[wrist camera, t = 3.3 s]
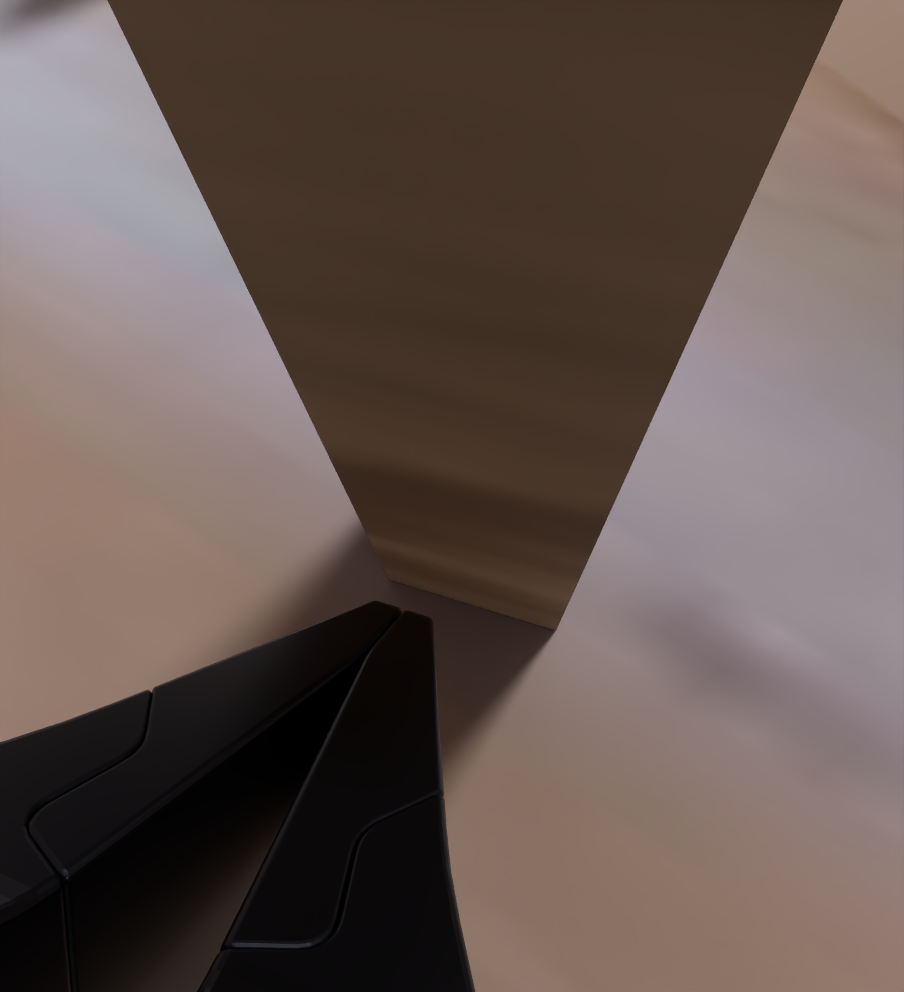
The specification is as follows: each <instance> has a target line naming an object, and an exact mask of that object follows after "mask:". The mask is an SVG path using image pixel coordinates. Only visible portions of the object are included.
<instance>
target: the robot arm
mask: <svg viewBox="0 0 904 992" xmlns="http://www.w3.org/2000/svg"><path fill="white" fill-rule="evenodd" d="M443 796H444V789H443V773H442V757H441V741H440V725H439V709H438V694H437V678H436V662H435V646H434V630H433V621H432V619H431V618H430V617H427V616H424V615H421V614H418V613H414V612H411V611H403V612H402V610H401V609H400V608H398V607H395V606H392V605H389V604H385V603H382V602H379V601H372V602H369V603H366V604H364V605H361V606H358V607H356V608H353V609H351V610H348V611H346V612H343V613H341V614H338V615H336V616H333V617H331V618H328V619H326V620H323V621H321V622H318V623H316V624H313V625H310V626H308V627H305V628H303V629H300V630H298V631H295V632H293V633H290V634H288V635H285V636H283V637H280V638H278V639H275V640H273V641H270V642H267V643H265V644H262V645H260V646H257V647H255V648H252V649H250V650H247V651H245V652H242V653H240V654H237V655H235V656H232V657H230V658H227V659H225V660H222V661H219V662H217V663H214V664H212V665H209V666H207V667H204V668H202V669H199V670H197V671H194V672H192V673H189V674H187V675H184V676H182V677H179V678H176V679H174V680H171V681H169V682H166V683H164V684H161V685H159V686H156V687H154V688H153V691H152V693H151V691H149V690H146V691H143V692H140V693H138V694H135V695H133V696H130V697H128V698H125V699H123V700H120V701H118V702H115V703H112V704H110V705H107V706H104V707H102V708H99V709H96V710H94V711H91V712H88V713H86V714H83V715H80V716H77V717H75V718H72V719H69V720H67V721H64V722H61V723H58V724H55V725H52V726H49V727H46V728H43V729H40V730H37V731H34V732H31V733H28V734H25V735H22V736H18V737H15V738H12V739H9V740H6V741H3V742H0V992H475V988H474V984H473V979H472V975H471V970H470V965H469V961H468V956H467V951H466V947H465V942H464V938H463V933H462V928H461V924H460V919H459V913H458V907H457V902H456V896H455V890H454V885H453V879H452V874H451V867H450V857H449V848H448V838H447V828H446V814H445V800H444V798H443Z"/></svg>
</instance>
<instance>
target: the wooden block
mask: <svg viewBox="0 0 904 992" xmlns="http://www.w3.org/2000/svg"><path fill="white" fill-rule="evenodd" d="M842 1H843V0H108V2H109V4H110V6H111V8H112V10H113V13H114V15H115V17H116V19H117V21H118V23H119V25H120V27H121V29H122V31H123V33H124V35H125V37H126V39H127V41H128V43H129V45H130V48H131V50H132V52H133V54H134V56H135V58H136V60H137V62H138V64H139V66H140V68H141V70H142V72H143V74H144V76H145V78H146V81H147V83H148V85H149V87H150V89H151V91H152V93H153V95H154V97H155V99H156V101H157V103H158V105H159V107H160V109H161V111H162V113H163V116H164V118H165V120H166V122H167V124H168V126H169V128H170V130H171V132H172V134H173V136H174V138H175V140H176V142H177V144H178V146H179V149H180V151H181V153H182V155H183V157H184V159H185V161H186V163H187V165H188V167H189V169H190V171H191V173H192V175H193V177H194V179H195V181H196V184H197V186H198V188H199V190H200V192H201V194H202V196H203V198H204V200H205V202H206V204H207V206H208V208H209V210H210V212H211V214H212V217H213V219H214V221H215V223H216V225H217V227H218V229H219V231H220V233H221V235H222V237H223V239H224V241H225V243H226V245H227V247H228V249H229V252H230V254H231V256H232V258H233V260H234V262H235V264H236V266H237V268H238V270H239V272H240V274H241V276H242V278H243V280H244V282H245V285H246V287H247V289H248V291H249V293H250V295H251V297H252V299H253V301H254V303H255V305H256V307H257V309H258V311H259V313H260V315H261V317H262V320H263V322H264V324H265V326H266V328H267V330H268V332H269V334H270V336H271V338H272V340H273V342H274V344H275V346H276V348H277V350H278V353H279V355H280V357H281V359H282V361H283V363H284V365H285V367H286V369H287V371H288V373H289V375H290V377H291V379H292V381H293V383H294V385H295V388H296V390H297V392H298V394H299V396H300V398H301V400H302V402H303V404H304V406H305V408H306V410H307V412H308V414H309V416H310V418H311V421H312V423H313V425H314V427H315V429H316V431H317V433H318V435H319V437H320V439H321V441H322V443H323V445H324V447H325V449H326V451H327V453H328V456H329V458H330V460H331V462H332V464H333V466H334V468H335V470H336V472H337V474H338V476H339V478H340V480H341V482H342V484H343V486H344V489H345V491H346V493H347V495H348V497H349V499H350V501H351V503H352V505H353V507H354V509H355V511H356V513H357V515H358V517H359V519H360V521H361V524H362V526H363V528H364V530H365V532H366V534H367V536H368V538H369V540H370V542H371V544H372V546H373V548H374V550H375V552H376V554H377V557H378V559H379V561H380V563H381V565H382V567H383V569H384V571H385V573H386V575H387V577H388V579H389V580H392V581H395V582H399V583H402V584H405V585H408V586H412V587H415V588H418V589H422V590H425V591H428V592H431V593H435V594H438V595H441V596H444V597H448V598H451V599H454V600H458V601H461V602H464V603H467V604H471V605H474V606H477V607H480V608H484V609H487V610H490V611H494V612H497V613H500V614H503V615H507V616H510V617H513V618H517V619H520V620H523V621H526V622H530V623H533V624H536V625H539V626H543V627H546V628H549V629H553V630H556V629H557V627H558V625H559V623H560V621H561V618H562V616H563V614H564V612H565V610H566V607H567V605H568V603H569V601H570V599H571V596H572V594H573V592H574V590H575V588H576V585H577V583H578V581H579V579H580V577H581V574H582V572H583V570H584V568H585V566H586V563H587V561H588V559H589V557H590V555H591V553H592V550H593V548H594V546H595V544H596V542H597V539H598V537H599V535H600V533H601V531H602V528H603V526H604V524H605V522H606V520H607V517H608V515H609V513H610V511H611V509H612V506H613V504H614V502H615V500H616V498H617V495H618V493H619V491H620V489H621V487H622V484H623V482H624V480H625V478H626V476H627V473H628V471H629V469H630V467H631V465H632V462H633V460H634V458H635V456H636V454H637V451H638V449H639V447H640V445H641V443H642V440H643V438H644V436H645V434H646V432H647V429H648V427H649V425H650V423H651V421H652V418H653V416H654V414H655V412H656V410H657V407H658V405H659V403H660V401H661V399H662V397H663V394H664V392H665V390H666V388H667V386H668V383H669V381H670V379H671V377H672V375H673V372H674V370H675V368H676V366H677V364H678V361H679V359H680V357H681V355H682V353H683V350H684V348H685V346H686V344H687V342H688V339H689V337H690V335H691V333H692V331H693V328H694V326H695V324H696V322H697V320H698V317H699V315H700V313H701V311H702V309H703V306H704V304H705V302H706V300H707V298H708V295H709V293H710V291H711V289H712V287H713V284H714V282H715V280H716V278H717V276H718V273H719V271H720V269H721V267H722V265H723V262H724V260H725V258H726V256H727V254H728V251H729V249H730V247H731V245H732V243H733V241H734V238H735V236H736V234H737V232H738V230H739V227H740V225H741V223H742V221H743V219H744V216H745V214H746V212H747V210H748V208H749V205H750V203H751V201H752V199H753V197H754V194H755V192H756V190H757V188H758V186H759V183H760V181H761V179H762V177H763V175H764V172H765V170H766V168H767V166H768V164H769V161H770V159H771V157H772V155H773V153H774V150H775V148H776V146H777V144H778V142H779V139H780V137H781V135H782V133H783V131H784V128H785V126H786V124H787V122H788V120H789V117H790V115H791V113H792V111H793V109H794V106H795V104H796V102H797V100H798V98H799V95H800V93H801V91H802V89H803V87H804V85H805V82H806V80H807V78H808V76H809V74H810V71H811V69H812V67H813V65H814V63H815V60H816V58H817V56H818V54H819V52H820V49H821V47H822V45H823V43H824V41H825V38H826V36H827V34H828V32H829V30H830V27H831V25H832V23H833V21H834V19H835V16H836V14H837V12H838V10H839V7H840V5H841V3H842Z"/></svg>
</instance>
